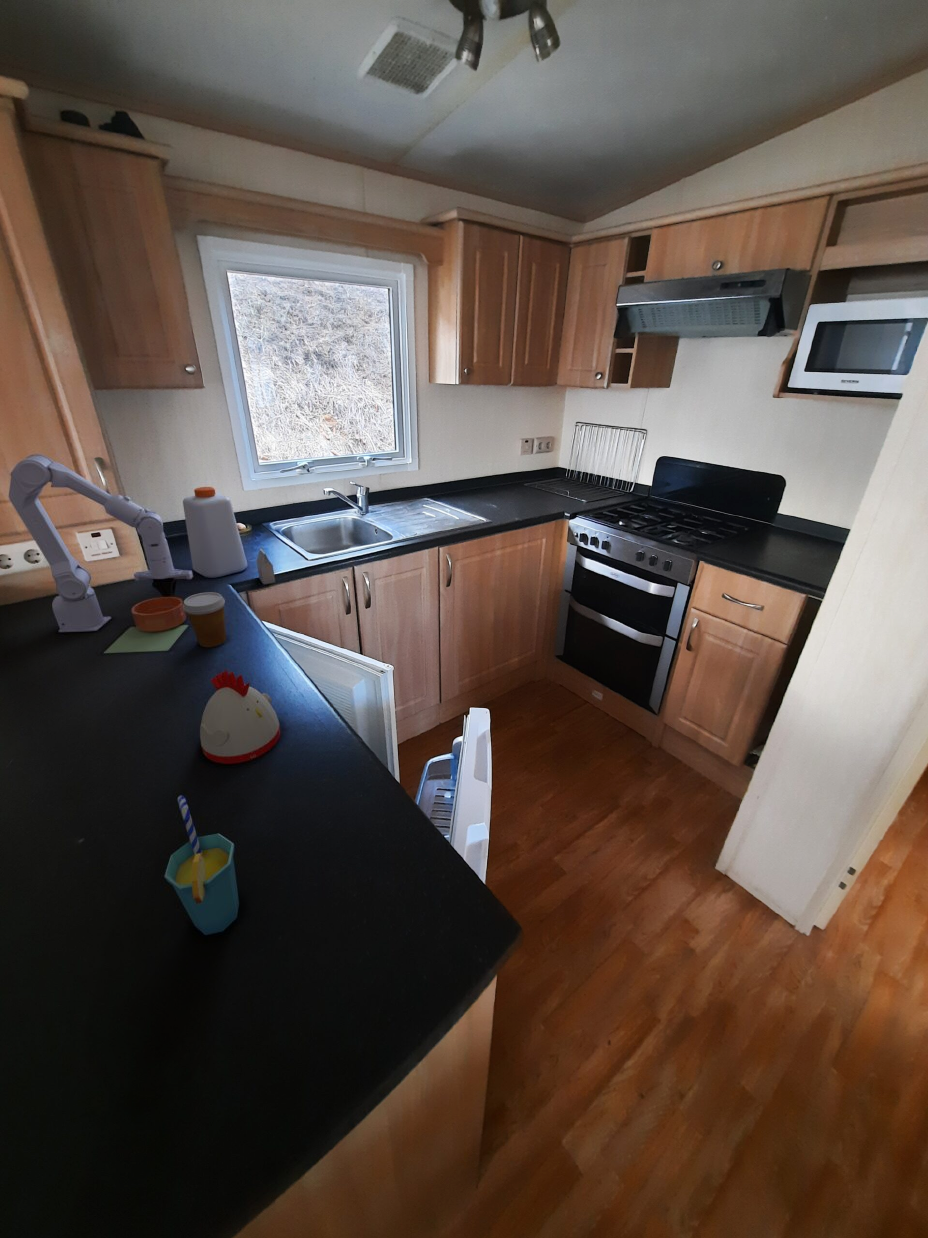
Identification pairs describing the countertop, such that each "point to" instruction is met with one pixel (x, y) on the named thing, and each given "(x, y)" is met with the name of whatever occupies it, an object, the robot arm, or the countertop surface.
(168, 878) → the cup
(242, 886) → the countertop surface
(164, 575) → the robot arm
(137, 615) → the bowl
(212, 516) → the plastic bottle
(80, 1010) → the countertop surface
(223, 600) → the disposable coffee cup
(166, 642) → the mat
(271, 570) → the beige gable carton
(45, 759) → the countertop surface
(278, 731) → the kitchen timer
